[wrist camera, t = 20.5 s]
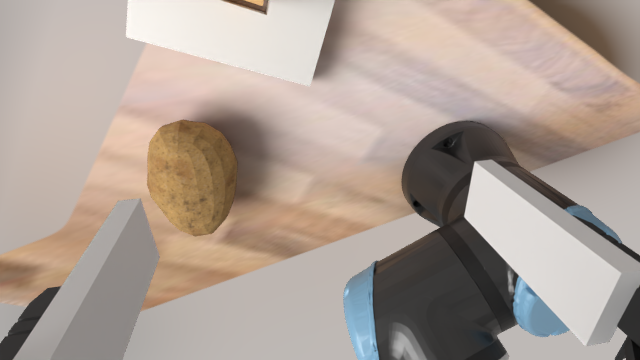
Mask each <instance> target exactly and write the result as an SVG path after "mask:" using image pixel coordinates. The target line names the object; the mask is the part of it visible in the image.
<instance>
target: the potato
mask: <svg viewBox="0 0 640 360" xmlns="http://www.w3.org/2000/svg"><path fill="white" fill-rule="evenodd" d="M236 182H237V160H236V157H235V155H234V152H233V150H232V147H231V145H230V143H229V142H228V141H227V139H226V138H225V137H224V136H223V134H222V133H221V132H220V131H218V130H216V129H215V128H213V127H211V126H209V125H208V124H206V123H201V122H193V121H187V120H180V121H177V122H173V123H170V124H167V125H164V126H162V127H161V128H159V130H158V131H157V132H156V134H155V135H154V137H153V138H152V140H151V141H150V144H149V151H148V178H147V186H148V189H149V192H150V195H151V197H152V199H153V200H154V201H155V202H156V204H157V205H158V206H159V208H160V209H161V210H162V211H163V213H164V214H165V216H166V217H167V218H168V220H169V221H170V222H171V223H172V224H173V225H174V226H176V227H177V228H178V229H179V230H181V231H183V232H186V233H188V234H191V235H193V236H201V235H207V234H212V233H213V232H214V231H215V230H216V229H217V228H218V227H219V226H220V225H221V223H222V222H223V221H224V220H225V219H226V217H227V216H228V213H229V211H230V208H231V206H232V203H233V199H234V194H235V189H236Z"/></svg>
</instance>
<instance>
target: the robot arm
mask: <svg viewBox="0 0 640 360" xmlns="http://www.w3.org/2000/svg"><path fill="white" fill-rule="evenodd" d="M402 190H403V193H404V196H405V198H406V200H407V201H408V203H409V204H410V205H411V207H412V208H413V209H414V211H415V212H416V213H418V214H419V215H420V216H421V217H423V218H424V219H427V220H428V221H430V222H432V223H434V224H435V225H437V226H439V227H440V228H439V229H437V230H435V231H433V232H431V233H429V234H428V235H426V236H424V237H423V238H421V239H419V240H417V241H415V242H413V243H412V244H410V245H408V246H406V247H404V248H402V249H401V250H399V251H397V252H395V253H393V254H391V255H390V256H388V257H386V258H384V259H382V260H380V261H375V262H373V263H372V264H371V266H370V267H368V268H367V269H365V270H363V271H362V272H360V273H359V274H357V275H355V276H354V277H352V278H351V279H350V280H349V281H348V283H347V284H346V287H345V290H344V312H345V318H346V323H347V327H348V331H349V335H350V338H351V341H352V344H353V347H354V350H355V353H356V356H357V358H358V360H508V358H509V355H508V353H507V351H506V350H505V348H504V347H503V345H502V344H501V342H500V341H499V339H498V337H497V335H498V334H499V333H501V332H503V331H505V330H507V329H509V328H511V327H513V326H515V325H517V324H519V326H520V327H521V328H522V329H524V330H525V331H528V332H529V333H531V334H533V335H535V336H540V337H548V336H549V335H550V334H551V335H559V334H562V333H565V332H567V331H569V330H571V331H572V332H573V333H574V335H576V337H577V338H578V339H579V340H580V341H581V342H582V343H583V344H584V345H585V346H590V345H595V344H601V343H606V342H609V341H610V340H611V338H612V336H613V334H614V332H615V330H616V328H617V327H619V328H620V329H621V330H622V331H623V332H624V333H625V334H626V335H627V338H626V340H625V341H624V343H623V345H622V347H621V349H620V350H619V352H618V354H617V356H616V357H615V360H623V359H624V358H626V360H640V256H639V255H638V254H637V253H635V252H634V251H632V250H631V249H629V248H628V247H626V246H625V245H624V244H622V241H621V240H620V238H619V237H618V235H617V234H616V233H615V232H614V231H613V230H611V229H610V228H609V227H608V226H606V225H605V224H604V223H603V222H601V221H600V220H599V219H598V218H596V217H595V216H594V215H593V214H592V212H591V211H590V210H588V209H587V208H586V207H584V206H580V205H578V204H577V203H575V202H574V201H572V200H571V199H569V198H568V197H566V196H565V195H563V194H562V193H560V192H558V191H557V190H556V189H554V188H553V187H551V186H550V185H548V184H546V183H545V182H544V181H542V180H541V179H539V178H538V177H536V176H534V175H533V174H531V173H530V172H528V171H527V170H525V169H524V168H522V167H521V166H520V165H519V164H518V162H517V161H516V159H515V157H514V156H513V154H512V152H511V151H510V149H509V147H508V146H507V144H506V142H505V141H504V140H503V138H502V137H501V136H500V135H498V134H497V133H496V132H494V131H493V130H491V129H489V128H488V127H486V126H484V125H482V124H480V123H476V122H470V121H462V122H455V123H451V124H448V125H445V126H442V127H440V128H438V129H436V130H435V131H433V132H431V133H430V134H429V135H427V136H426V137H425V138H424V139H423V140H421V141H420V142H419V144H418V145H417V146H416V147H415V148H414V149H413V151H412V152H411V154H410V155H409V157H408V159H407V161H406V163H405V166H404V169H403V173H402ZM159 258H160V256H159V253H158V250H157V247H156V244H155V241H154V238H153V235H152V232H151V229H150V226H149V223H148V220H147V217H146V214H145V211H144V207H143V204H142V201H141V198H140V199H131V200H122V201H118V202H117V204H116V205H115V207H114V208H113V210H112V211H111V213H110V214H109V216H108V217H107V219H106V220H105V222H104V223H103V225H102V226H101V228H100V229H99V231H98V232H97V234H96V235H95V237H94V238H93V240H92V241H91V243H90V244H89V246H88V247H87V249H86V250H85V252H84V253H83V255H82V256H81V258H80V259H79V261H78V263H77V264H76V266H75V267H74V269H73V270H72V272H71V273H70V275H69V276H68V278H67V279H66V281H65V282H64V284H63V285H62V286H60V287H52V288H47V289H46V290H45V291H44V292H43V293H41V294H40V295H39V296H38V297H37V298H35V299H34V300H33V301H32V302H31V303H30V304H29V305H28V306H27V308H26V309H25V310H24V312H23V313H22V315H21V316H20V317H19V319H18V322H17V323H15V324H14V325H13V327H12V328H11V330H10V331H9V332H8V336H7V337H5V338H4V339H3V341H2V342H1V343H0V360H122V359H123V356H124V353H125V351H126V348H127V345H128V343H129V339H130V337H131V334H132V332H133V329H134V326H135V323H136V320H137V318H138V315H139V313H140V310H141V307H142V304H143V302H144V299H145V296H146V293H147V291H148V288H149V285H150V282H151V280H152V277H153V274H154V271H155V269H156V266H157V263H158V260H159Z"/></svg>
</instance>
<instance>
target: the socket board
mask: <svg viewBox="0 0 640 360" xmlns="http://www.w3.org/2000/svg"><path fill="white" fill-rule="evenodd" d="M334 2H335V0H268V4H267V8H266V13H265V12H262V11H258V10H255V9H252V8H249V7H246V6H243V5H240V4H237V3H234V2H231V1H227V0H128V8H127V26H126V27H127V28H126V37H128V38H132V39H135V40H139V41H142V42H146V43H150V44H153V45H157V46H161V47H165V48H168V49H172V50H176V51H179V52H183V53H187V54H191V55H194V56H198V57H202V58H206V59H209V60H213V61H217V62H220V63H224V64H228V65H232V66H235V67H239V68H243V69H246V70H250V71H254V72H258V73H261V74H265V75H269V76H272V77H276V78H280V79H284V80H287V81H291V82H295V83H299V84H302V85H306V86H310V85H311V81H312V78H313V75H314V71H315V68H316V64H317V61H318V57H319V54H320V50H321V47H322V44H323V40H324V37H325V33H326V30H327V26H328V23H329V19H330V16H331V13H332V9H333V6H334Z"/></svg>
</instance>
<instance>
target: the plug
mask: <svg viewBox="0 0 640 360" xmlns="http://www.w3.org/2000/svg"><path fill="white" fill-rule="evenodd" d="M245 1H248V2H251V3H254V4H257V5H260V6H263V2H264V0H245Z"/></svg>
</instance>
